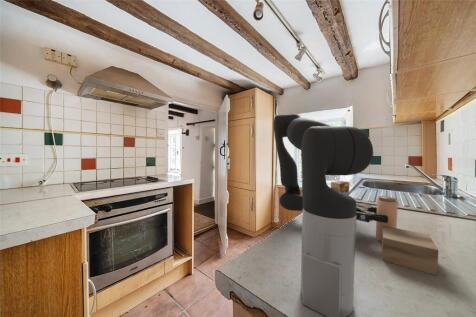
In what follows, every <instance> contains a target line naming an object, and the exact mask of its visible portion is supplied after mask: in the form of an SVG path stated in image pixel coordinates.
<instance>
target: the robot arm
mask: <svg viewBox="0 0 476 317" xmlns="http://www.w3.org/2000/svg"><path fill="white" fill-rule="evenodd" d="M272 123H273V133H274V140H275V145H276V152H277V157H278V161H279V162H278V163H279V171H280V172H279V173H280V174H279V175H280V184H281V185H282V186H283V187H284V191H285V192H283V193H282V194H281V195H280V197H279V201H278V202H279V205H280V206H281V207H282V209H285V210H288V211H293V212H298V211H299V212H302V217H301V218H302V223H301V254H300V255H301V258H300V260H301V262H300V263H301V264H300V265H301V267H300V272H301V273H300V294H301V297H302V301H301V302H302V305H304V306H306V307H308V308H309V309H312V310H313V311H315V312H317V313H319V314H321V315H323V316H325V317H348V316H349V315H351V314H352V313H353V310H354V298H355V297H354V294H355V263H356V262H355V261H356V260H355V257H356V256H355V255H356V235H357V234H356V232H357V231H356V230H357V221H360V222H365V223H370V222H372V221H374V222H376V221H378V222H384V223H388V216H387V215H382V214H377V206H374V205H372V204H371V203H365V202H364V203H362V202H357V201H356V199H355V198H354V197H352V196H351V195H350V194H349V195H346V194H344V193H341V192H338V191H335V190H333V189H331V186H329V185H328V184H327V179H326V178H327V176H352V175H356V174H359V173H362V172H364V171H365V170H366V169H368V168H369V166H370V164H371V163H372V161H373V157H374V147H373V144H372V141H371V140H370V137H369V136H368V134H366V133H365V132H364V130H362V129H360V128H358V127H355V126H347V125H346V126H345V125H343V126H341V125H338V126H337V125H335V126H334V125H330V124H327V123H325V122H323V121H319V120H316V119H313V118H310V117H305V116H302V115H300V114H299V113H286V114H276V115H275V116H274V118H273V122H272ZM284 138H287V140H288V141H289V143H290V144H291V145H293V146H294V147H295V148H296V149H297V150H300V152H301V153H300V156H301V189H300V185H299V182H298V181H299V178H298V166H297V163H296V161H295V159H294V158H293V156H291V154H290V153H289V151H288V149H287V148H286V146H285V143H284ZM301 194H302V195H301Z"/></svg>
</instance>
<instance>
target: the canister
mask: <svg viewBox="0 0 476 317" xmlns="http://www.w3.org/2000/svg"><path fill="white" fill-rule="evenodd" d="M398 206H399V202H398V201H397V198H395V197H391V196H386V195H385V196H384V195H381V196H380V195H379V196H378V198H377V199H376V207H377V214H382V215H387V216H388V223H384V222H378V221H375V239H376V240H377V241H380V242H382V228H383V226H387V227H392V228H397V226H398ZM397 229H398V228H397Z"/></svg>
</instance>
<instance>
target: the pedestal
mask: <svg viewBox="0 0 476 317" xmlns="http://www.w3.org/2000/svg"><path fill="white" fill-rule="evenodd" d="M381 257H382V258H381V259H382V261H385V262H389V263H392V264H396V265H399V266H402V267H406V268H410V269H413V270H416V271H420V272H424V273H427V274H429V275H433V276H438V268H439V267H438V265H439V264H438V263H439V249H438V247H437V246H436V244H435V242H434V240H433V239H432V237H431V236H430V234H427V233H421V232H418V231H417V232H416V231H413V230H412V231H411V230H407V229H401V228H392V227H387V226H383V228H382V241H381Z"/></svg>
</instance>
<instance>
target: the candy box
mask: <svg viewBox="0 0 476 317" xmlns="http://www.w3.org/2000/svg"><path fill="white" fill-rule="evenodd" d="M350 185H351V184H350V181H346V180H339V181H331V182H330V188H331V189H333V190H335V191H338V192H341V193H344V194H346V195H349V196H350Z"/></svg>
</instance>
